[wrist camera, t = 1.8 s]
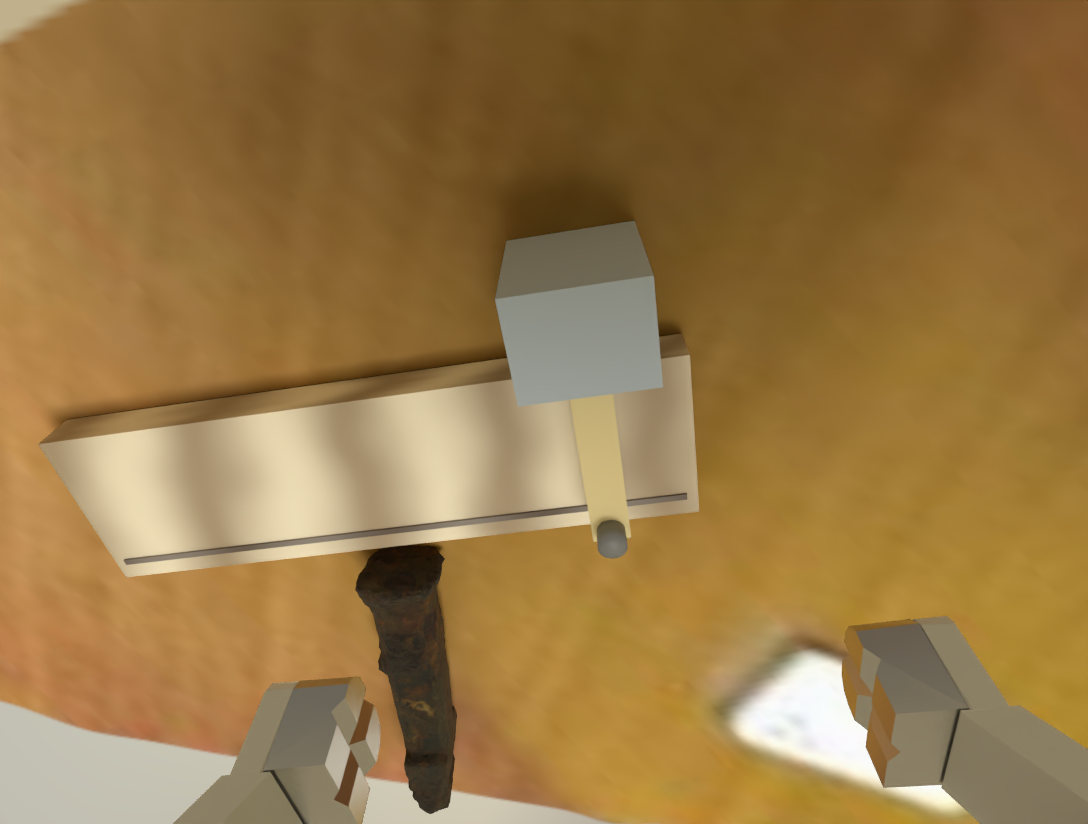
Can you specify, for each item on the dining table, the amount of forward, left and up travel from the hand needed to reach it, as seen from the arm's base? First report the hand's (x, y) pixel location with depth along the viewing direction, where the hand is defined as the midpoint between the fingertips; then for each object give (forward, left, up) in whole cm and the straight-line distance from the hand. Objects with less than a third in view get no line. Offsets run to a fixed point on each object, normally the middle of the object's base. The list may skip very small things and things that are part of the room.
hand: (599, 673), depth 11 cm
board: (+10, +7, -19) cm, 22 cm away
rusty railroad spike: (+11, +22, -19) cm, 31 cm away
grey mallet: (0, +4, -19) cm, 19 cm away
